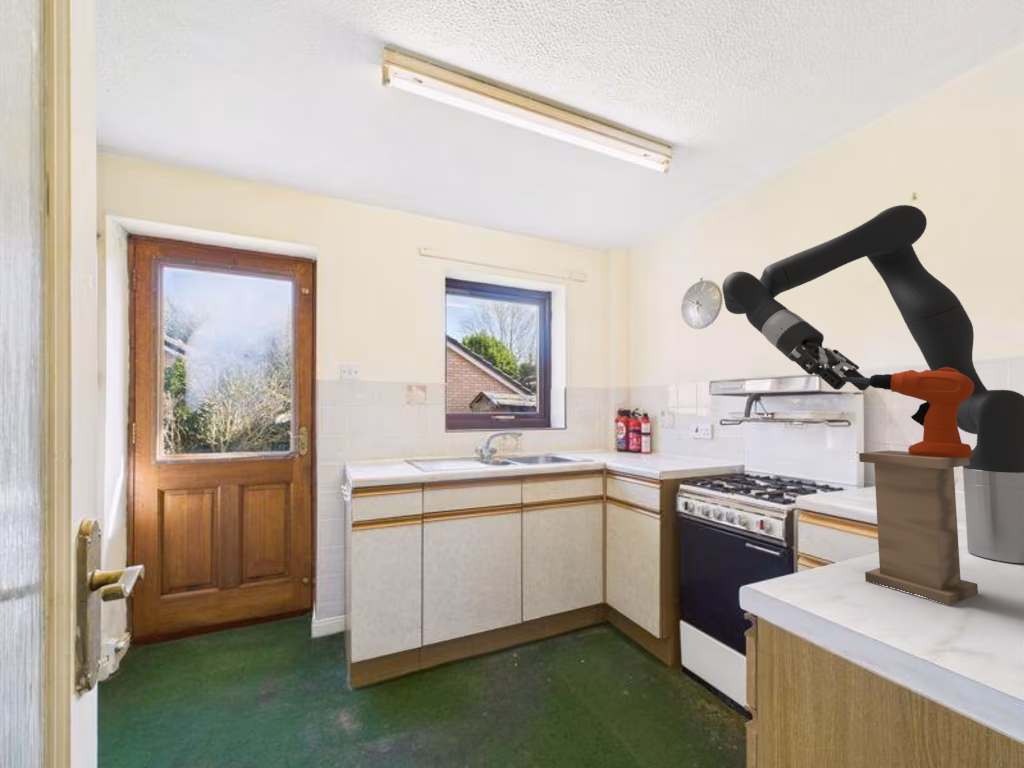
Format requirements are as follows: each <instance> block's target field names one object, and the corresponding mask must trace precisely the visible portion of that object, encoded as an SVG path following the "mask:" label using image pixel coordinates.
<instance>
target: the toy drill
mask: <svg viewBox="0 0 1024 768" xmlns="http://www.w3.org/2000/svg"><path fill="white" fill-rule="evenodd" d="M841 377H842V376H841ZM842 378H843V379H845V380H846V383H850V382H854V383H863V384H864V383H865V384H870V386H869V387H872V388H874V389H883V390H886V391H887V390H889V391H890V392H892V393H898V394H901V395H903V396H907V397H910V398H914V399H918V400H921V401H924V402H923V403H921V404H920V405H919V407H918V410H916V412H915V413H914V414H913V415H910V418H911V419H912V420H913V421H914V422H916V423H918V424H919V425H920V426H922V427H923V433H922V434H923V437H922V441H919V442H916V443H914V444H911V445H909V447H908V448H907V450H908V451H907V452H909V454H911V455H921V456H938V457H957V458H970V457H972V450H973V449H972V447H971V445H970V444H968V443H963V442H962V439H961V436H960V431H959V427H958V426H957V413H958V408H959V405H960V404H961V403H962V402H963V401H965V400H966V399H967V398H969V397H970V396H971V394H972V393H973V391H974V383H973V382H972V380H971V379H970V378H968V377H967V376H965V375H963V374H961V373H960V372H959V371H958V370H956V369H953V368H948V367H945V368H941V369H939V370H937V371H931V370H930V369H925V370H923V371H915V370H913V369H908V370H905V371H901V372H896V373H892V374H890V373H886V374H873V375H871V376H870V377H865V378H855V377H850V378H849V377H842Z"/></svg>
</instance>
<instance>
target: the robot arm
mask: <svg viewBox="0 0 1024 768" xmlns="http://www.w3.org/2000/svg"><path fill="white" fill-rule="evenodd" d="M927 222H928V221H927V216H926V215H925V214H924V212H923V211H922V210H921V208H919V207H916V206H913V205H909V204H901V205H895V206H894V205H893V206H891V207H889V208H886V209H885V210H882V211H880V213H878V214H876V215H875V216H874V217H872V218H871V219H868V221H865V222H864V223H862V224H860V225H859V226H857V227H855V228H853V229H851V230H850V231H849V230H848V231H847V232H845V233H843V234H841V235H839V236H837V237H834V238H832V239H830V240H828V241H824V242H823V243H820V244H818V245H817V244H816V245H815V246H813V247H810V248H807V249H806V250H802V251H800V252H797V253H794V254H792V255H790V256H788V257H785V258H782V259H780V260H778V261H776V262H773V263H771V264H769V265H768V266H766V267H765V268H764V270H763V272H762V274H761V277H760V278H759V279H758V278H757V277H756V276H755V275H753V274H752V273H749V272H747V271H735V272H731V273H730V274H728V275H727V276H726V277H725V278H724V280H723V282H722V288H721V289H722V295H723V300H724V306H725V308H726V310H727V311H728V312H730V313H731V314H735V315H744V314H745V316H746V319H747V321H748V323H750V325H752V327H754V328H755V329H756V330H757V331H758V332H759V333H760V334H762V335H763V336H764V338H766V340H767V341H768V342H769V343H770V344H772V345H773V346H774V347H775V348H776V349H777V350H778V351H780V353H782V354H783V355H784V356H785V357H786V358H788V359H789V361H791V362H793V363H796V364H797V365H798V366H799V367H801V369H802V370H803V371H804V372H806V373H807V374H808V375H810V376H811V375H814V376H815V377H817V378H821V380H823V381H824V382H826V383H827V384H828V385H829V386H830V387H831V388H832V389H834V390H838V391H839V390H841V389H842V388H843V387H844V386H845V385H846V384H847V382H846V380H845V379H843V378H842V377H849V378H850V377H855V378H866V377H865V376H864V375H863V374H861V372H859V371H858V370H859V369H860V366H859V365H857V364H856V363H855V362H854V361H852V360H851V359H849V358H848V357H847V356H845V355H844V354H843V353H841V352H840V351H839V350H838V349H835V348H834V349H831V348H829V347H823V343H824V340H825V339H824V338H825V337H824V334H823V333H822V332H821V331H819V330H818V329H817V328H815V327H814V326H813V325H811V324H810V323H809V322H808V321H806V320H805V319H804V318H802V317H801V316H800V315H798V314H797V313H796V312H795V313H794V312H793V311H792V310H790V309H789V308H787V307H786V306H785V305H783V304H782V303H781V302H780V301H777V300H776V299H775V298H776V297H777V296H778V295H780V294H781V293H784V292H787V291H790V290H792V289H794V288H797V287H799V286H802V285H804V284H806V283H809V282H812V281H814V280H816V279H818V278H821V277H823V276H824V275H826V274H828V273H830V272H832V271H834V270H836V269H838V268H841V267H842V266H845V265H847V264H850V263H852V262H854V261H856V260H859V259H862V258H865V257H866V258H867V259H868V260H869V262H870V263H871V265H873V268H875V270H876V271H877V273H878V274H879V276H880V277H881V278H882V280H883V282H884V283H885V285H886V287H887V289H888V292H889V294H890V295H891V297H892V299H893V301H894V303H895V305H896V307H897V309H898V311H899V313H900V314H901V317H902V319H903V321H904V323H905V325H906V327H907V329H908V331H909V333H910V335H911V337H912V338H913V340H914V341H915V343H916V345H917V346H918V348H919V350H920V352H921V354H922V356H923V358H924V360H925V362H926V364H927V366H928V367H929V370H931V371H937V370H939V369H941V368H945V367H948V368H953V369H956V370H958V371H959V372H960V373H961V374H963V375H965V376H967V377H968V378H970V379H971V380H972V382H973V383H974V391H973V393H972V394H971V396H970V397H969V398H967V399H966V400H965V401H963V402H962V403H961V404H960V405H959V408H958V413H957V426H958V429H960V430H961V431H963V432H965V433H968V434H972V435H976V444H975V447H974V448H973V449H971V450H972V457H970V458H969V459H970V465H967V466H962V476H963V493H964V507H965V508H964V509H965V526H966V543H967V544H966V545H967V546H966V547H967V552H968V553H970V554H972V555H974V556H977V557H981V558H985V559H989V560H993V561H998V562H1005V563H1012V564H1013V563H1014V564H1024V395H1023V394H1021V393H1020V392H1017V391H1015V390H1010V389H987V387H986V386H985V385H984V383H983V381H982V380H981V378H980V376H979V375H978V371H977V370H976V368H975V366H974V362H973V351H974V350H973V349H974V339H975V337H974V335H975V334H974V326H973V323H972V320H971V318H970V316H969V315H968V314H967V313H968V312H967V311H966V310H965V307H964V306H963V304H962V302H961V300H960V299H959V298H958V296H957V295H956V294H955V293H954V292H953V291H952V290H951V289H950V288H949V287H948V286H947V285H945V284H944V283H943V282H941V281H940V280H939V279H937V277H935V276H934V275H932V273H930V272H929V271H928V270H927V269H926V268H925V267H924V265H923V264H922V263H921V261H920V259H919V258H918V255H917V254H916V253H917V252H916V251H915V249H914V247H913V245H914V244H915V243H917V241H918V240H920V238H921V237H922V236H923V235H924V233H925V230H926V229H927V224H928V223H927ZM844 367H845V368H847V369H845V368H844ZM849 383H850V384H851V385H852V386H854V387H855V388H857V389H858V390H859V391H861V392H864V391H866V390H868V388H870V387H871V386H870V384H865V383H864V384H863V383H854V382H849Z"/></svg>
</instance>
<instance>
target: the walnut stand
mask: <svg viewBox="0 0 1024 768" xmlns="http://www.w3.org/2000/svg"><path fill="white" fill-rule="evenodd" d="M858 456H859V457H858V458H859V459H858V460H859V462H861V463H868V464H869V463H871V464H874V484H875V485H874V486H875V505H876V521H877V524H876V525H877V537H878V538H877V541H878V542H877V543H878V557H879V558H878V560H879V561H878V562H879V567H877V568H875V569H871V570H869V571H865V572H864V573H865V574H864V575H865V577H864V578H865V582H867V581H869V582H868V583H870V582H874V583H877V584H881V585H884V586H888V587H892V588H895V589H899V590H902V591H905V592H909V593H912V594H917V595H920V596H923V597H926V598H928V599H931V600H934V601H937V602H936V603H938V602H941V603H944V604H947V605H946V606H948V605H951V604H953V603H955V604H956V602H957V603H959V602H958V601H960V602H961V600H962V601H965V600H966V599H969V598H970V597H973V596H975V595H977V594H979V590H978V589H979V586H978V583H975V582H971V581H967V580H963V579H962V578H961V567H960V566H961V565H960V564H961V563H960V548H959V535H958V534H959V531H958V518H957V517H958V516H957V515H958V513H957V499H956V497H957V496H956V484H955V468H959V467H963V466H967V465H970V459H969V458H957V457H938V456H921V455H911V454H909V452H908V451H903V450H902V451H901V450H881V451H868V452H859V454H858ZM877 584H876V585H877ZM884 586H883V587H884ZM931 600H930V601H931ZM934 601H933V602H934ZM941 603H940V604H941ZM944 604H943V605H944ZM953 605H954V604H953ZM951 606H952V605H951Z"/></svg>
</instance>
